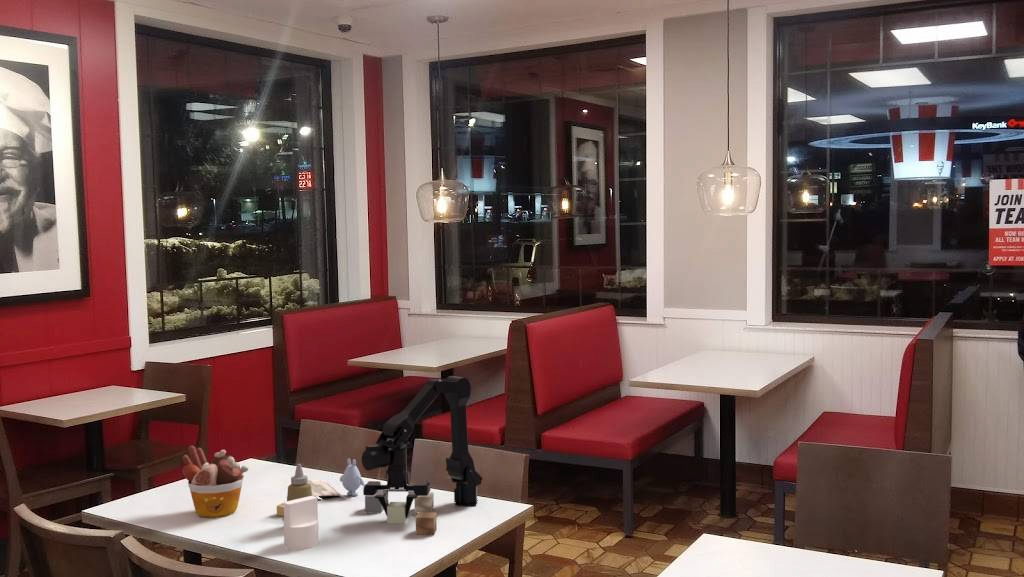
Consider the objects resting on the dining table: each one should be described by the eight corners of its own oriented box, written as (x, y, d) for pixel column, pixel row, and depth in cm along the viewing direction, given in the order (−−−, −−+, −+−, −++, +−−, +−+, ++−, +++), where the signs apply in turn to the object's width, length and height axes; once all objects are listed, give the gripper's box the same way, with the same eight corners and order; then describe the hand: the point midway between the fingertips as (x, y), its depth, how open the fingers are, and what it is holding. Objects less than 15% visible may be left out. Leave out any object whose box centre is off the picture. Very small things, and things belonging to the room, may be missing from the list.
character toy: (293, 509, 261) (271, 506, 264) (293, 520, 261) (271, 517, 264) (309, 502, 268) (287, 499, 271) (309, 512, 268) (287, 510, 271)
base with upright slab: (307, 536, 246) (306, 493, 246) (325, 544, 240) (324, 499, 239) (277, 544, 240) (276, 500, 239) (295, 552, 233) (294, 506, 233)
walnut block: (436, 530, 251) (436, 512, 251) (433, 535, 246) (433, 517, 246) (418, 529, 251) (418, 512, 251) (415, 535, 246) (415, 517, 246)
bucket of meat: (259, 508, 273) (258, 444, 272) (222, 524, 258) (220, 455, 257) (209, 502, 281) (207, 439, 281) (169, 516, 266) (167, 450, 265)
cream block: (433, 508, 272) (433, 492, 272) (431, 513, 267) (430, 496, 267) (417, 508, 272) (417, 492, 272) (414, 513, 267) (414, 496, 267)
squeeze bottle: (320, 523, 257) (318, 462, 257) (305, 532, 250) (303, 468, 249) (296, 521, 260) (294, 460, 259) (280, 530, 252) (278, 466, 251)
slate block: (385, 508, 273) (384, 491, 273) (381, 512, 268) (381, 496, 268) (368, 508, 273) (368, 491, 273) (365, 512, 268) (364, 496, 268)
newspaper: (290, 488, 300) (290, 480, 300) (326, 487, 305) (326, 480, 305) (304, 504, 279) (305, 496, 279) (342, 503, 284) (343, 495, 284)
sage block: (407, 518, 262) (407, 501, 261) (404, 524, 257) (404, 506, 256) (390, 518, 262) (390, 501, 262) (387, 523, 257) (387, 506, 257)
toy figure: (371, 495, 287) (370, 458, 286) (357, 500, 282) (356, 462, 281) (347, 490, 293) (346, 454, 292) (333, 495, 288) (332, 458, 287)
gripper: (432, 458, 266) (433, 509, 267) (371, 457, 267) (371, 509, 268) (427, 467, 255) (427, 521, 255) (362, 466, 256) (363, 520, 257)
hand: (397, 517), depth 259 cm, fingers closed on sage block, 5 cm apart
